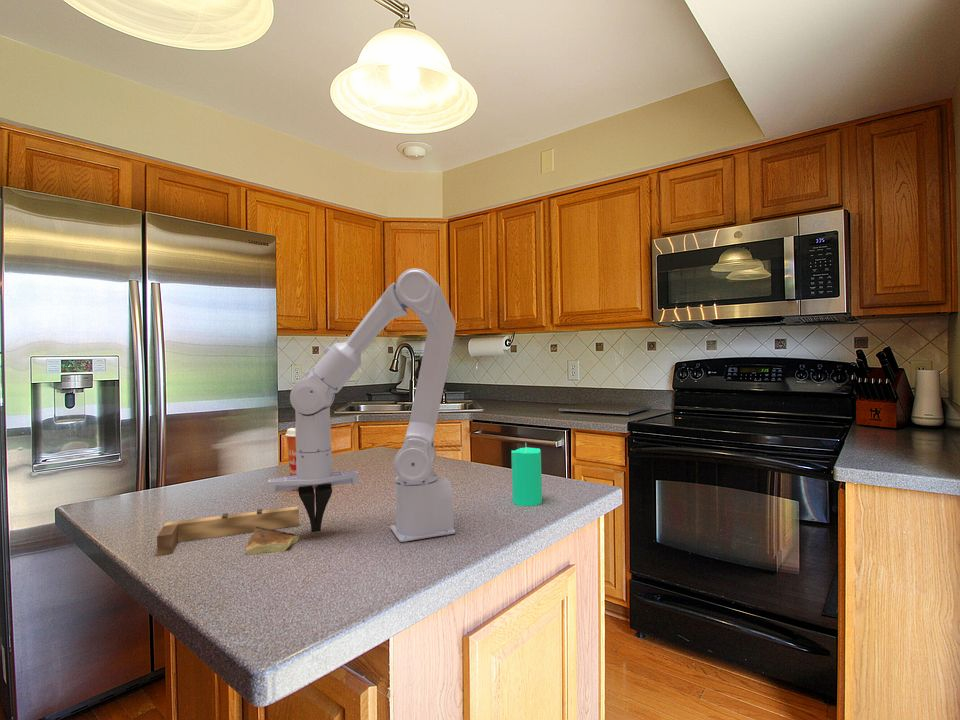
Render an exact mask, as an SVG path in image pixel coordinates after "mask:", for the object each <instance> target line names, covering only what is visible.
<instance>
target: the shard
mask: <svg viewBox="0 0 960 720" xmlns="http://www.w3.org/2000/svg"><path fill="white" fill-rule="evenodd" d="M299 539H300V535H297V534H294V533H291V532H290V533H289V532H286V531H281V530H278V529H264V528H259V527H256V529H255V531H254V532H252V534H251V536H250V538H248V541H247V544H246V547H245V554H246V555H247V556H249V555H250V556H251V555H258V554H267V553H278V552H285V551H286V550H287V549H288V548H289V547H290V546H292V545H293V544H296V543H297V542H299Z"/></svg>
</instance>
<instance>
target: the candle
mask: <svg viewBox="0 0 960 720" xmlns="http://www.w3.org/2000/svg"><path fill="white" fill-rule="evenodd" d="M525 445H527V442H525ZM510 454H511V483H512V484H511V489H512V493H511V494H512V503H513V504H514V505H517V506H519V507H520V506H522V507H534V506H538V505H541V504H542V503H543V489H542V488H543V487H542V485H543V483H542V481H543V480H542V479H543V478H542V450H541V449H540V447H539V448H537V447H527V446H526V447H519V448H517V449H515V450H512V449H511V453H510Z"/></svg>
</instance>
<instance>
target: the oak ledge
mask: <svg viewBox="0 0 960 720" xmlns="http://www.w3.org/2000/svg"><path fill="white" fill-rule="evenodd" d="M299 510H300V509H299V506H298V505H297V506H290V507H280V508H273V509H272V508H271V509H264V510H263V509H262V508H259V509H256V511H248V512H241V513H239V512H238V513H233V514H232V513H231V514H229V513H228V512H227V513H226V512H225V513H222V515H217V516H215V515H214V516H209V517H208V516H207V517H199V518H191V519H185V520H183V519H182V520H177V521H176V520H175V521H168V522H165V523H164V525H163V527H162V528H161V530H160V531H159V532H158V534H157V535H156V547H157V548H156V550H157V553H156V554H157V556H158V557H159V556H163V555H164V556H165V555H166V556H167V555H171V554H173V553H174V551H175V549H176V547H177V546H178V543H183V542H189V541H197V540H204V539H205V540H206V539H211V538H212V539H213V538H218V537H226V536H233V535H240V534H241V535H242V534H248V533H254V531H255V529H256V527H259V528H264V529H271V530H278V529H285V528H292V527H299V526H300V515H299V514H300V512H299Z"/></svg>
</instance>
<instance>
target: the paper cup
mask: <svg viewBox="0 0 960 720" xmlns="http://www.w3.org/2000/svg"><path fill="white" fill-rule="evenodd" d="M284 436H285V437H286V444H287V455H288V465H289V466H288V467H289V476H294V475H297V470H296V432H295V427H290V428H287V429H286V433H285V435H284ZM313 489H314V490H315V487H314V488H313ZM293 491H295V492H298V489H296V490H293Z"/></svg>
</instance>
